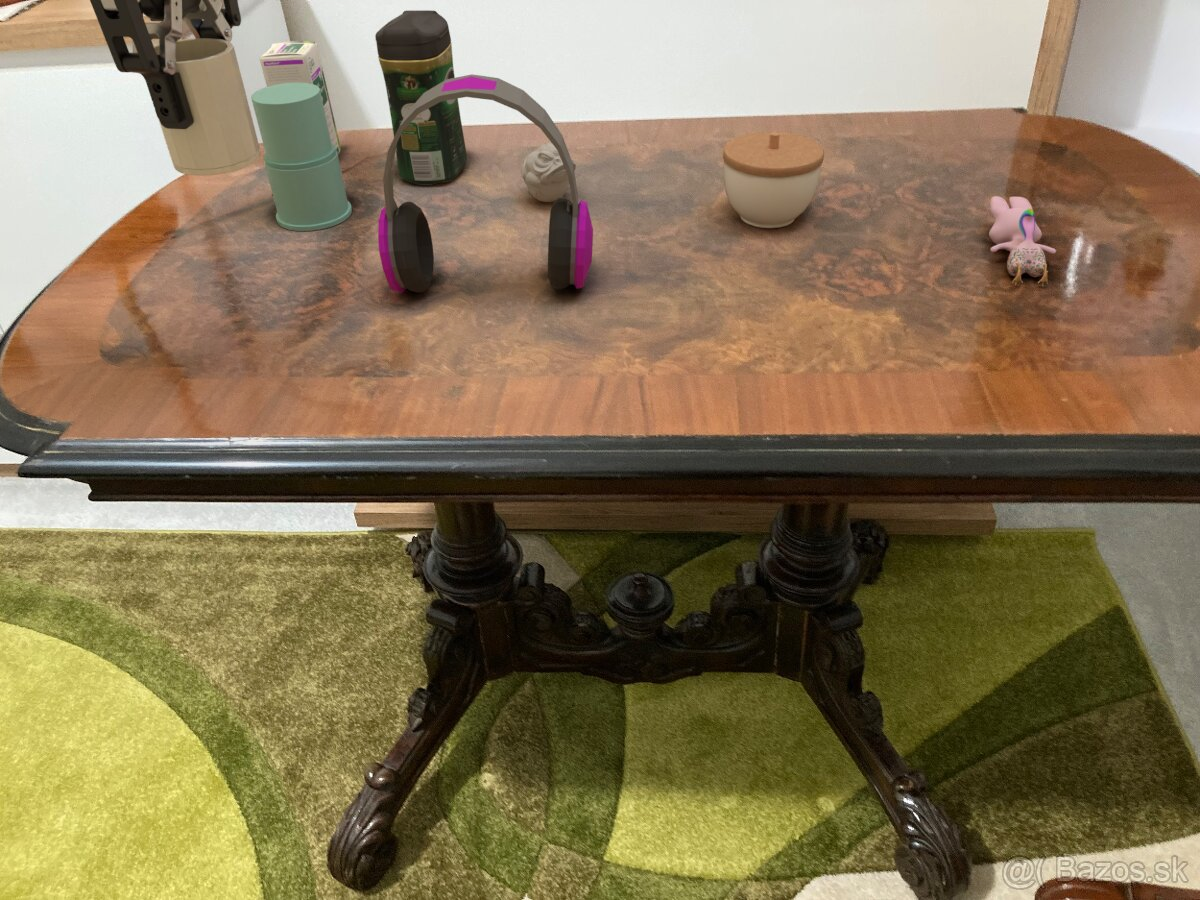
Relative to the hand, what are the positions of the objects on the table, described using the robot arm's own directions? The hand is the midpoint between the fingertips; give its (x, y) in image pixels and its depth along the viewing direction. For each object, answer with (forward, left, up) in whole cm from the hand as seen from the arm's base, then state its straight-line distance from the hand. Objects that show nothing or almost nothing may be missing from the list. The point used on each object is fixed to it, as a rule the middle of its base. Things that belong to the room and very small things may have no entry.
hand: (203, 109), depth 68 cm
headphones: (+22, -5, -23) cm, 32 cm away
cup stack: (+22, +24, -23) cm, 39 cm away
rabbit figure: (+59, -44, -23) cm, 77 cm away
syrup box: (+32, +37, -23) cm, 54 cm away
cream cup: (0, 0, -4) cm, 4 cm away
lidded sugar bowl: (+52, -19, -23) cm, 60 cm away
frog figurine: (+41, +4, -23) cm, 47 cm away
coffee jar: (+39, +22, -23) cm, 50 cm away
